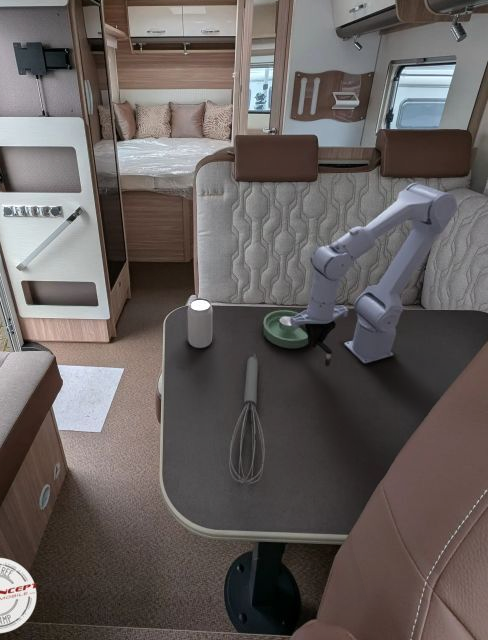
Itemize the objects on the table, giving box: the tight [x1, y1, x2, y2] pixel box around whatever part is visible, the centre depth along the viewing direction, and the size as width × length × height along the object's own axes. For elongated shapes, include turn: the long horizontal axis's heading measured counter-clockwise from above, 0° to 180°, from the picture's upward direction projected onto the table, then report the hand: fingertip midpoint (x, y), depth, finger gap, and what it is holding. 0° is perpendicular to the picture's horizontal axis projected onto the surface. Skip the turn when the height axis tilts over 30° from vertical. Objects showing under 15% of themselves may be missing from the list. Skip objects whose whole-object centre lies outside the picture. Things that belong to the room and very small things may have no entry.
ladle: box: [279, 316, 333, 367], centre depth 92 cm, size 20×5×5 cm, turn 20°
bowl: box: [262, 309, 310, 349], centre depth 101 cm, size 14×14×3 cm
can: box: [187, 297, 213, 349], centre depth 95 cm, size 6×6×12 cm
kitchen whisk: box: [229, 353, 266, 486], centre depth 76 cm, size 6×34×6 cm, turn 172°
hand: (314, 344), depth 89 cm, fingers closed on ladle
